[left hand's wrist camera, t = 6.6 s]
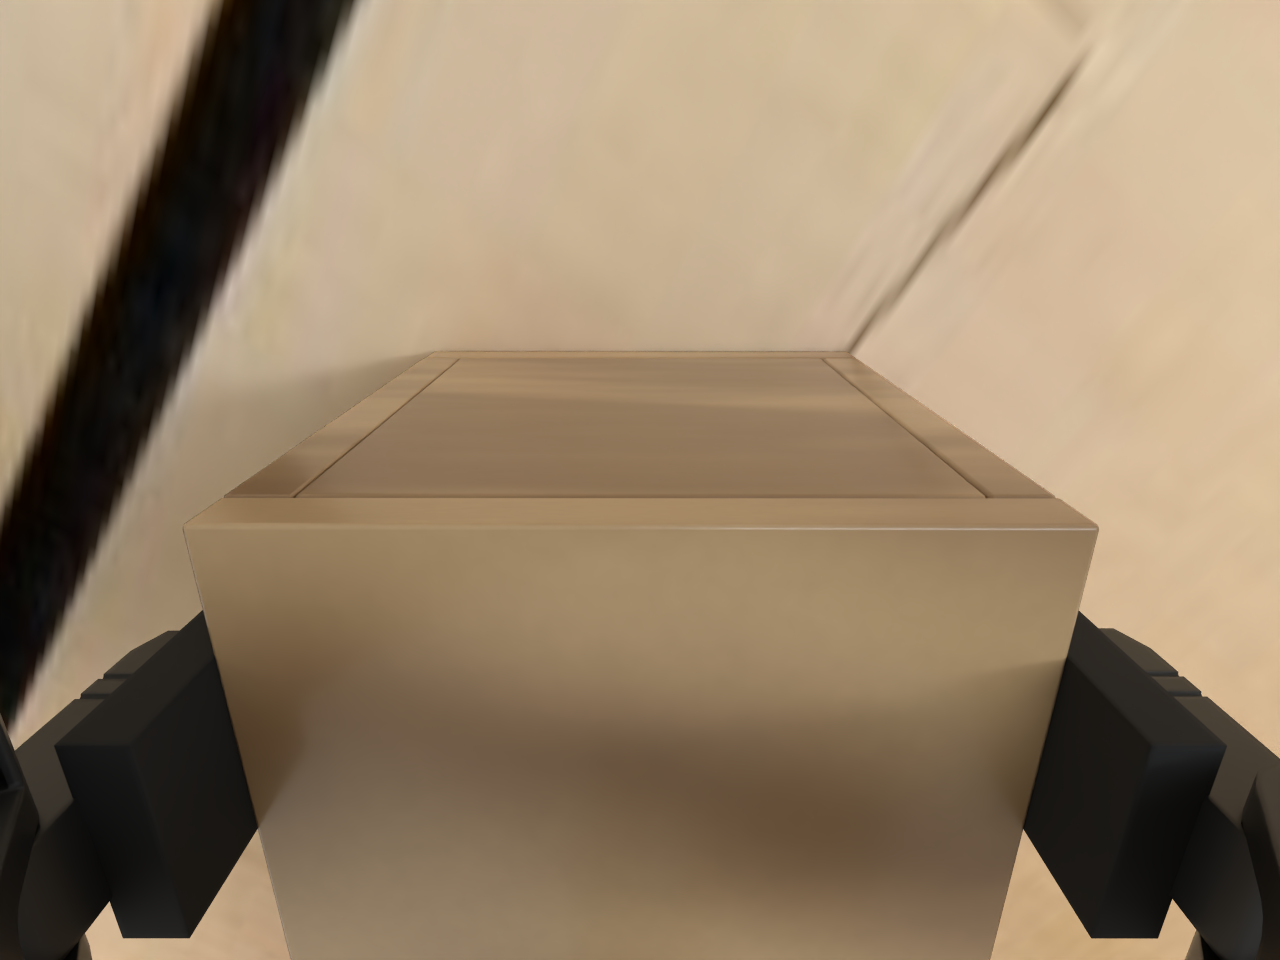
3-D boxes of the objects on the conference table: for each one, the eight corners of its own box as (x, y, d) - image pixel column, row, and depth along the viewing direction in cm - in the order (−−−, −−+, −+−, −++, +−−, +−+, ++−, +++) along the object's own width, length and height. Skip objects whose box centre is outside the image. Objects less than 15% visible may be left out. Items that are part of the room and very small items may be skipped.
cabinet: (786, 943, 25) (878, 1407, 15) (494, 942, 25) (401, 1406, 15) (848, 350, 17) (1103, 525, 8) (433, 350, 17) (178, 524, 8)
